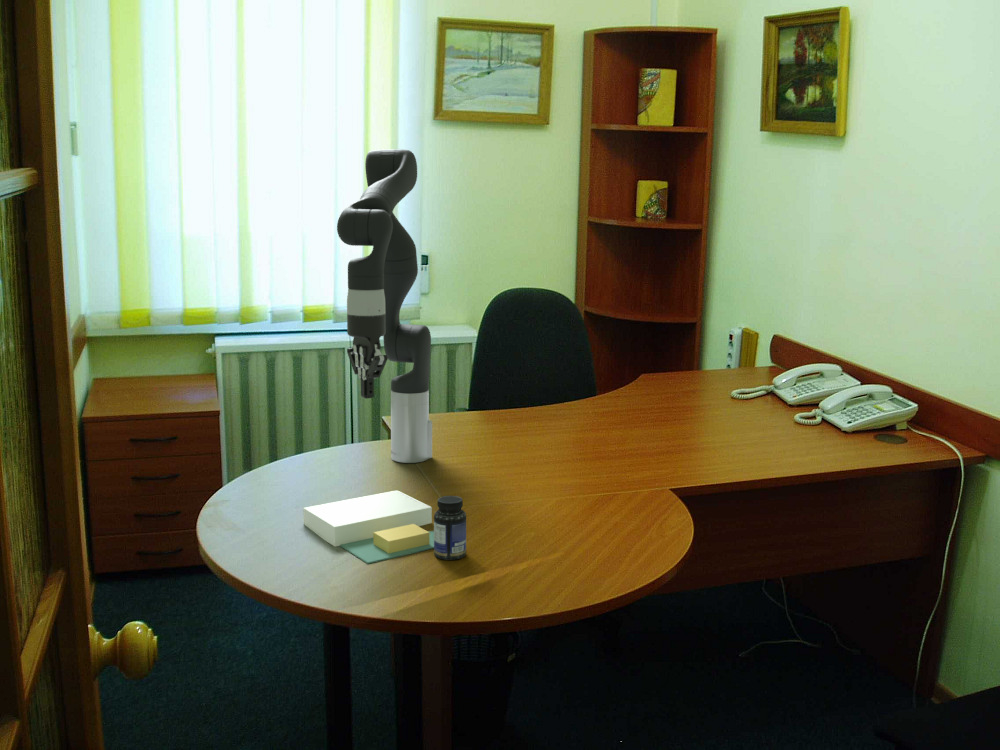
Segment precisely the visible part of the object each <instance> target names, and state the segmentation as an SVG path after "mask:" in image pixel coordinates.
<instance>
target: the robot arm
mask: <svg viewBox="0 0 1000 750" xmlns="http://www.w3.org/2000/svg"><path fill="white" fill-rule="evenodd" d="M364 163H365V168H364V169H365V178H366V182H367V188H366V189H365V190H364V191H363V193H362V195H361V196H360V198H359V199H358V200H356V201H355V202H353V203H352V204H349V205H348V206H347V207H346V208H344V209H343V211H341V213H340V215H339V217H338V220H337V223H336V231H337V232H336V233H337V234H338V235H337V236H338V237H339V239H340V240H341V242H343V243H344V244H346V245H349V246H355V247H357V246H359V247H360V246H365V247H372V251H371V252H370V254H369V255H366V256H363V257H357V258H353V259H351V260H350V261H349V262H348V264H347V296H346V317H347V318H346V323H347V325H346V326H347V327H346V332H347V335H348V336H349V337H352V339H353V340H352V346H351V347H348V348H347V349H346V353H347V356H348V359H349V361H350V365H351V367H352V370H353V374H354V375H357V376H358V379H359V380H360V397H361V398H364V399H373V398H374V396H375V380H376V379H377V378H380V377H381V375H382V373H383V371H384V368H385V366H386V364H387V361H388V360H389V361H390V362H394V363H409V364H413V366H412V369H411V370H410V371H409V372H406V373H404V374H401V375H397V376H394V377H393V378H392V379H391V380H390V459H391V460H392V461H394V462H398V463H402V464H415V463H416V464H417V463H422V462H424V461H428V460H429V459H432V458H433V421H432V420H431V419H430V411H429V410H430V402H429V401H430V399H429V398H430V393H429V392H430V374H431V372H430V370H431V368H430V367H431V351H432V350H431V349H432V336H431V331H430V329H429V327H428V326H426V325H423V324H408V323H406V324H405V323H401V321H400V312H401V308H402V305H403V303H404V300H405V299H406V297H407V296H408V293H409V292H410V290H411V289H412V287H413V285H414V284H415V282H416V280H417V277H418V274H419V268H418V267H419V266H418V265H419V264H418V258H417V257H418V256H417V247H416V244H415V242H414V239H413V238H412V237H411V235H410V233H409V232H408V231H407V230H406V228H405V227H404V226H403V224H402V223H401V222H400V221H399V219H398V218H397V217H396V215H395V214H394V210H395V208H396V206H397V205H398V204H399V203H400V202H401V201H402V200H403V199H404V198H405V197H406V196H407V195H408V194H409V193H410V192H412V190H413V189H414V188H415V186H416V183H417V179H418V164H417V158H416V156H415V154H414V153H413V152H412V151H411V150H408V149H406V148H405V149H403V148H402V149H401V148H398V149H397V148H393V149H392V148H391V149H389V148H388V149H385V148H384V149H372V150H369V151H368V152H367V154H366V157H365V162H364ZM381 337H383V349H384V354H383V353H382V352H381V350H382V345H381V340H380V338H381Z"/></svg>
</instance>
